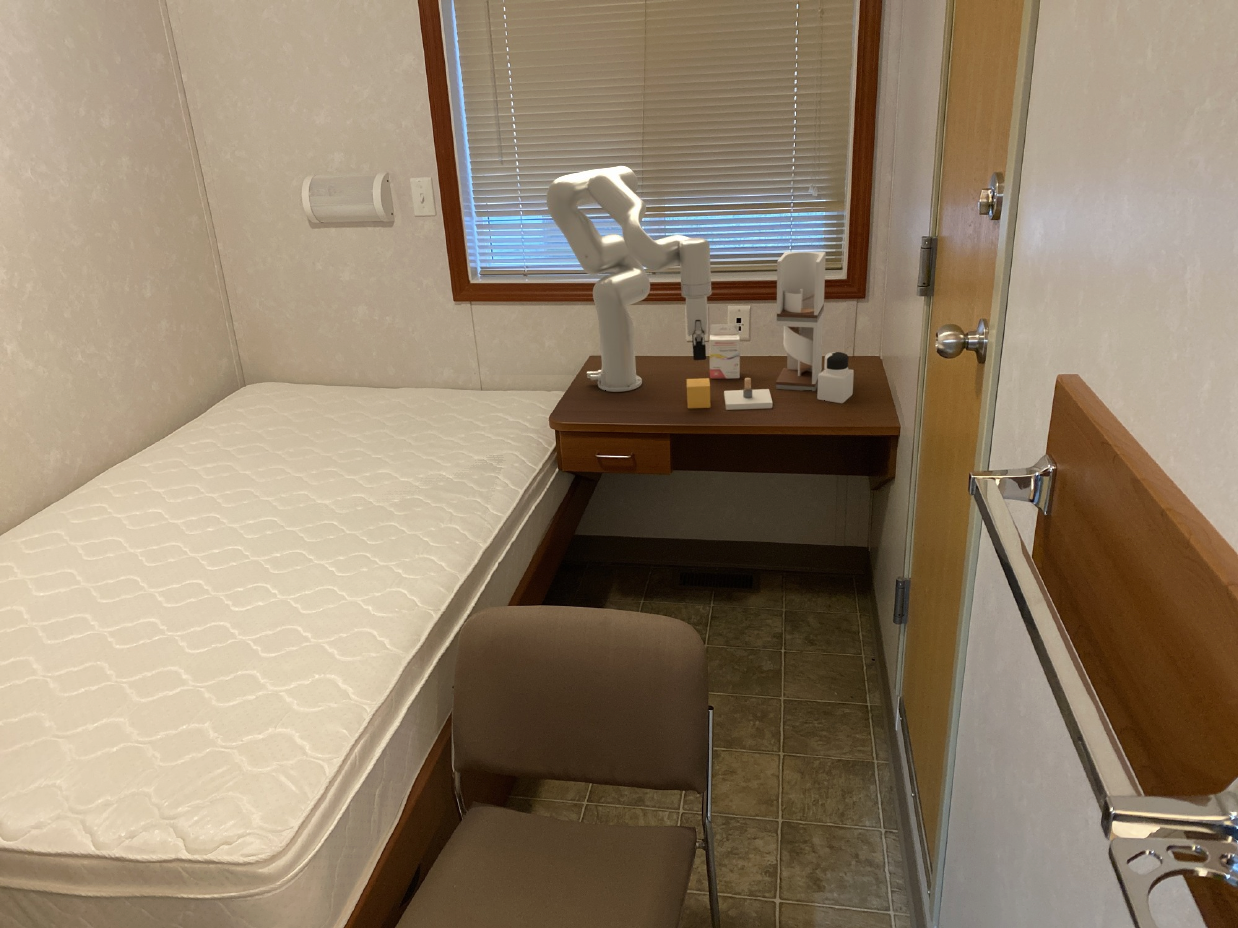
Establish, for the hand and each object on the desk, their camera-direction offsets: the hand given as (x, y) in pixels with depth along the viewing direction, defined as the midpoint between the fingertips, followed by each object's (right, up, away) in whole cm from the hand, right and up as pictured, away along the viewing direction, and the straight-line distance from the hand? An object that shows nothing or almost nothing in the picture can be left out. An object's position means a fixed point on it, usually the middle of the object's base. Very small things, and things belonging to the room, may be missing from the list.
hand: (699, 353), depth 237 cm
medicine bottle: (+36, -11, +5) cm, 38 cm away
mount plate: (+13, -12, +5) cm, 19 cm away
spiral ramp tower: (+29, -6, +16) cm, 34 cm away
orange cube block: (0, -13, +6) cm, 14 cm away
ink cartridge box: (+10, -4, +25) cm, 27 cm away
